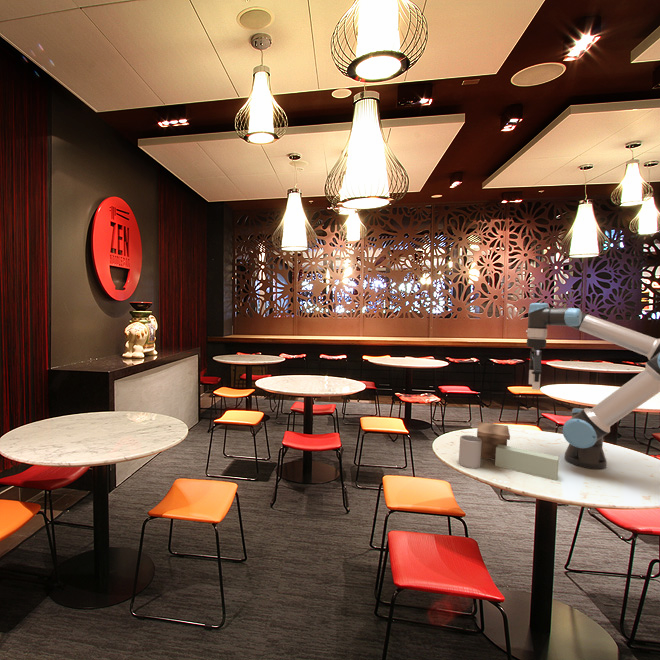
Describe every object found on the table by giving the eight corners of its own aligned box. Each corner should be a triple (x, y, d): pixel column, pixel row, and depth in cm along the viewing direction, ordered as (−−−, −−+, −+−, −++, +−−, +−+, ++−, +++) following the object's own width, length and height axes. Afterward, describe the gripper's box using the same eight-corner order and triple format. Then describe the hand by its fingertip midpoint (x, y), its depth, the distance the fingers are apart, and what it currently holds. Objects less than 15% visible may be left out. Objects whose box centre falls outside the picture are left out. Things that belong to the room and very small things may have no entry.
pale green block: (557, 476, 149) (558, 456, 149) (556, 481, 145) (557, 460, 145) (497, 462, 162) (498, 444, 162) (495, 466, 158) (496, 447, 158)
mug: (479, 470, 153) (481, 443, 152) (457, 465, 156) (459, 439, 156) (481, 460, 164) (482, 434, 163) (460, 456, 167) (461, 431, 167)
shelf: (505, 460, 164) (507, 425, 164) (507, 473, 150) (509, 436, 149) (476, 455, 169) (477, 421, 168) (475, 468, 154) (477, 431, 154)
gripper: (524, 336, 179) (521, 381, 180) (530, 339, 156) (527, 390, 157) (542, 337, 176) (539, 383, 177) (551, 340, 153) (548, 392, 154)
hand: (533, 386), depth 167 cm, fingers open, 13 cm apart
